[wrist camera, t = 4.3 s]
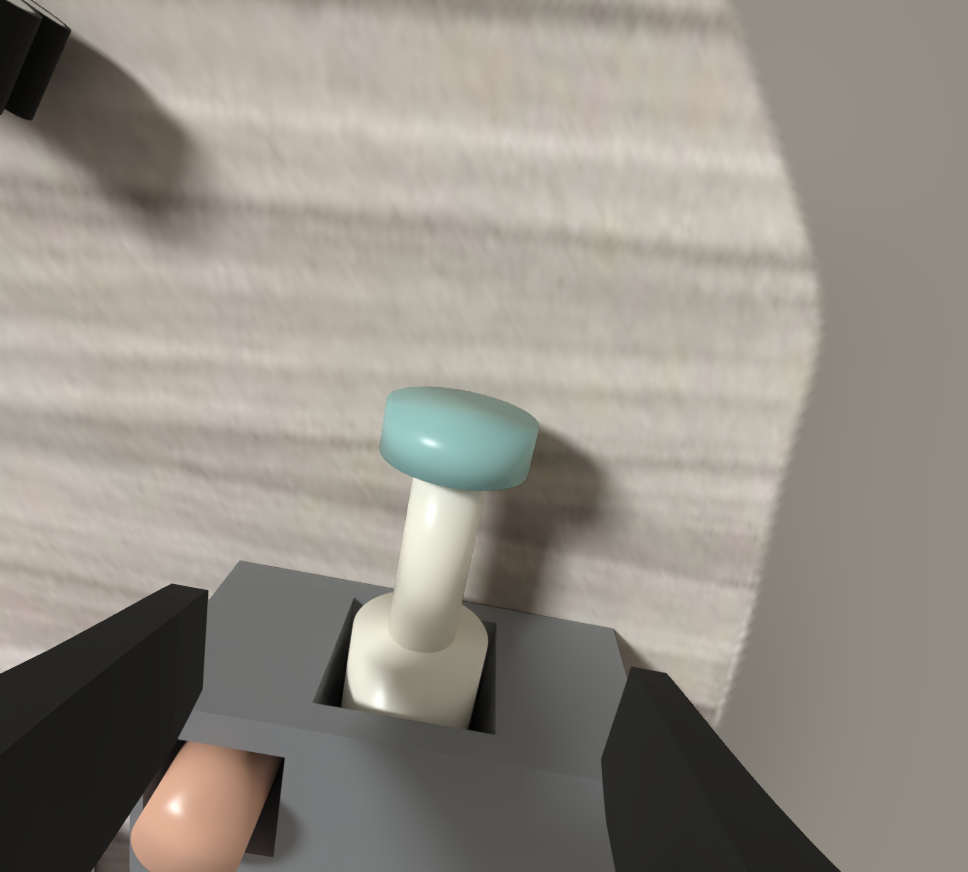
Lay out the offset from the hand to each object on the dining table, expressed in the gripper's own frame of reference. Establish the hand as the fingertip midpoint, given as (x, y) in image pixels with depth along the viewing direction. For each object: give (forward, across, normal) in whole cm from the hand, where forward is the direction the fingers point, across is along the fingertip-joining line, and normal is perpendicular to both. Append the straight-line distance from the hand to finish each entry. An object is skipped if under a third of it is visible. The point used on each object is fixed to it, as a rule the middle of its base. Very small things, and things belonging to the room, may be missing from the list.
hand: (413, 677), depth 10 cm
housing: (+8, 0, +8) cm, 11 cm away
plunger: (+4, +4, +6) cm, 9 cm away
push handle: (+7, 0, +4) cm, 8 cm away
